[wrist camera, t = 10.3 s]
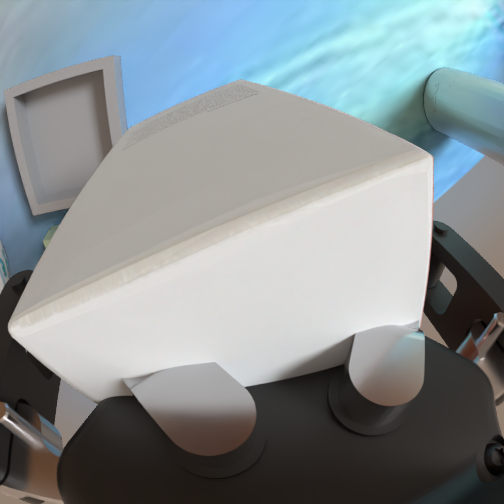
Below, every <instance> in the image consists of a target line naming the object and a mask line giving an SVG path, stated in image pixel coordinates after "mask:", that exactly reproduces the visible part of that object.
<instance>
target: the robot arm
mask: <svg viewBox="0 0 504 504" xmlns="http://www.w3.org/2000/svg"><path fill="white" fill-rule="evenodd" d="M424 110H425V113H426V117H427V119H428V121H429V123H430V124H431V126H432V127H433V128H434V129H435V130H437V131H439V132H441V133H443V134H445V135H447V136H449V137H451V138H453V139H455V140H457V141H459V142H461V143H463V144H465V145H467V146H469V147H471V148H473V149H474V150H476V151H478V152H480V153H482V154H484V155H485V156H487V157H489V158H491V159H493V160H494V161H496V162H498V163H499V164H501V165H503V166H504V83H501V82H498V81H495V80H492V79H489V78H486V77H482V76H479V75H475V74H471V73H468V72H464V71H460V70H456V69H451V68H440V69H438V70H436V71H435V72H434V73H433V74H432V75H431V76H430V78H429V80H428V82H427V84H426V87H425V92H424ZM445 266H446V267H447V268H448V269H449V270H450V272H451V273H452V274H453V275H454V276H455V278H456V280H457V290H456V292H455V294H454V296H452V294H450V292H449V291H448V290H447V288H446V287H445V286H444V285H443V284H442V283H441V281H440V280H439V279H440V277H441V275H442V272H443V270H444V268H445ZM32 273H33V271H32V270H25V271H21V272H19V273H17V274H15V275H14V276H12V277H11V278H10V279H9V280H8V281H7V283H6V284H5V286H4V288H3V290H2V291H1V293H0V492H1V493H3V494H5V495H8V496H10V497H13V498H17V499H21V500H23V501H26V502H28V503H31V504H41V503H43V502H45V501H49V502H53V503H57V504H504V439H503V436H502V433H501V430H500V427H499V423H498V418H497V412H496V406H498V405H500V404H501V403H502V402H503V401H504V279H503V278H502V277H501V276H500V275H499V273H498V272H497V271H496V270H495V269H494V268H493V267H492V266H491V265H490V264H489V263H488V262H487V261H486V260H485V259H484V258H483V257H482V256H481V255H480V254H479V253H478V252H477V251H476V250H475V249H474V248H472V247H471V246H470V245H469V244H468V243H467V242H466V241H465V240H464V239H463V238H462V237H461V236H459V235H458V234H457V233H456V232H455V231H454V230H453V229H452V228H450V227H449V226H448V225H446V224H444V223H441V222H438V221H433V228H432V243H431V255H430V266H429V275H428V283H427V290H426V296H425V302H424V309H423V312H424V313H425V315H426V316H427V317H428V319H429V320H430V322H431V323H432V324H433V325H434V327H435V329H436V330H437V331H438V332H439V334H440V336H441V337H442V339H443V340H444V341H445V343H446V344H447V346H448V347H449V348H447V347H445V346H444V345H442V344H440V343H438V342H436V341H434V340H432V339H430V338H428V337H427V336H424V333H423V331H422V330H420V327H419V320H418V321H415V322H413V323H410V324H407V325H384V326H379V327H375V328H371V329H368V330H365V331H361V332H358V333H355V336H354V339H353V341H352V344H351V347H350V349H349V352H348V354H347V357H346V359H345V363H344V364H342V365H339V366H335V367H332V368H329V369H325V370H321V371H317V372H313V373H309V374H305V375H301V376H297V377H293V378H288V379H284V380H279V381H274V382H269V383H263V384H258V385H252V386H247V387H244V386H243V385H241V384H240V383H239V382H238V381H237V380H235V379H234V378H233V377H232V376H231V375H230V374H228V373H227V372H226V371H225V370H224V369H223V368H222V367H220V366H219V365H218V364H217V363H216V362H210V363H201V364H192V365H183V366H178V367H172V368H168V369H164V370H161V371H158V372H155V373H153V374H150V375H147V376H143V377H136V378H122V380H123V381H124V383H125V384H126V386H127V387H128V389H129V390H130V392H131V393H132V395H133V396H114V397H109V398H106V399H104V400H102V401H101V402H100V403H99V404H98V405H97V407H96V408H95V409H94V410H93V411H92V413H91V414H90V415H89V416H88V418H87V419H86V420H85V421H84V423H83V424H82V425H81V427H80V428H79V429H78V430H77V432H76V433H75V434H74V435H73V437H72V438H71V439H70V440H69V442H68V443H67V444H66V446H65V447H64V449H63V444H62V437H61V435H60V433H59V431H58V430H57V428H56V427H55V426H54V422H55V414H56V406H57V399H58V393H59V386H60V380H61V378H60V377H59V376H58V375H56V374H55V373H54V372H52V371H51V370H50V369H48V368H47V367H46V366H45V365H43V364H42V363H41V362H40V361H39V360H38V359H36V358H35V357H34V356H33V355H32V354H31V353H30V352H29V351H27V354H26V351H25V348H24V347H23V346H22V345H21V344H20V343H18V342H17V341H16V340H15V339H14V338H12V336H11V335H10V333H9V331H8V323H9V321H10V319H11V316H12V314H13V312H14V310H15V308H16V306H17V304H18V302H19V300H20V298H21V296H22V294H23V292H24V290H25V287H26V285H27V283H28V281H29V279H30V277H31V275H32Z"/></svg>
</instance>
